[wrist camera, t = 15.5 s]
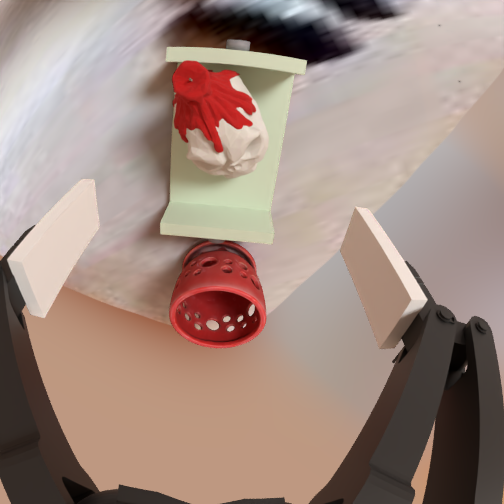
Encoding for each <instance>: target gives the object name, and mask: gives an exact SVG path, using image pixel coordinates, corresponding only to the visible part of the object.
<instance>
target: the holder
mask: <svg viewBox="0 0 504 504" xmlns="http://www.w3.org/2000/svg"><path fill="white" fill-rule="evenodd" d="M249 47H250V42H248V41H242V40H227V45H226V49H217V48H198V47H167V53H166V62H178V63H177V68H178V66H179V65H180V64H181V63H182V62H183V61H186V60H191V61H197V62H199V63H200V64H201V65H202V66H204V67H205V68H206V69H207V70H213V72H221V71H222V70H232V71H236V72H237V73H239V74H240V75H238V76H239V77H240V78H241V79H242V82H243V84H244V85H245V86H246V88H247V89H248V91H249V92H250V94H251V96H252V97H253V99H254V100H255V101H256V103H257V105H258V107H259V110H260V113H261V117H262V120H263V122H264V124H265V127H266V129H267V132H268V135H269V144H268V149H267V151H266V153H265V156H264V158H263V159H262V160H261V161H260V162H258V163H257V167H256V169H255V170H254V171H253V172H251V173H249V174H247V175H242V176H239V177H237V178H230V179H227V178H225V177H224V176H223V175H210V174H208V173H206V172H204V171H202V170H200V169H199V168H198V167H197V166H196V165H195V164H194V163H193V162H192V160H189V159H187V157H186V155H187V153H188V144H187V143H186V142H184V141H183V140H182V139H181V136H180V134H179V130H178V129H175V127H174V117H175V111H174V107H173V122H172V140H171V166H170V202H169V205H168V207H167V209H166V211H165V213H164V215H163V217H162V220H161V222H160V234H164V235H176V236H187V237H198V238H207V239H208V241H209V242H211V243H215V244H220V243H223V242H224V241H225V240H231V241H242V242H253V243H263V244H272V243H273V239H274V234H275V233H274V228H273V222H272V217H271V212H270V210H271V205H272V199H273V194H274V188H275V183H276V177H277V172H278V166H279V160H280V155H281V149H282V144H283V138H284V132H285V127H286V121H287V115H288V109H289V104H290V98H291V92H292V86H293V80H294V74H300V75H305V69H306V63H307V61H306V60H301V59H295V58H290V57H284V56H278V55H272V54H265V53H258V52H250V51H249ZM175 94H176V93H175ZM175 94H174V98H175Z"/></svg>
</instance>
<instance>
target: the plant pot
mask: <svg viewBox="0 0 504 504" xmlns="http://www.w3.org/2000/svg"><path fill="white" fill-rule="evenodd" d="M183 303H184V307H183ZM252 304H254V305H255V311H254V313H253V315H252V316H249V314H248V311H249V308H250V306H251V305H252ZM177 308H178V311H177ZM185 313H186V314H187V315H188V316H189V321H188V320H187V319H186V318H185ZM195 313H196V314H198V315H199V318H196V317H195ZM242 315H243V320H242V321H240V322H238V321H237V319H238V317H240V316H242ZM226 316H229V317H231V319H230V321H229V322H224V321H223V318H224V317H226ZM169 318H170V321H171V324H172V326H173V327H174V328H175V330H176V331H177V332H178V333H179V334H180V335H181V336H183V337H184V338H185V339H187V340H188V341H191V342H192V343H195V344H197V345H201V346H205V347H210V348H230V347H235V346H238V345H242V344H244V343H247V342H249V341H251V340H252V339H254V338H255V337H256V336H257V335H258V334H259V333H260V332H261V331H262V329H263V328H264V326H265V323H266V306H265V299H264V295H263V290H262V286H261V284H260V281H259V278H258V276H257V274H256V264H255V261H254V259H253V257H252V256H251V254H250V253H249V252H248V251H247V250H246V249H245V248H243V247H242V246H240V245H238V244H236V243H234V242H231V241H226V240H225V241H224V242H223V243H220V244H215V243H211V242H209V241H206V242H203V243H201V244H199V245H197V246H195V247H194V248H193V249H191V250H190V251H189V253H188V254H187V255H186V257H185V259H184V261H183V266H182V273H181V274H180V276H179V278H178V280H177V282H176V285H175V288H174V291H173V295H172V299H171V303H170V309H169ZM256 318H257V319H256ZM208 320H214V321H216V322H217V323H218V324H219V329H217V330H211V329H209V328H208V327H207V325H206V322H207V321H208ZM194 324H198V325H200V327H201V330H198V329H196V328H195V326H194ZM244 324H246V326H245V327H244V328H243V326H244ZM229 326H234V327H235V328H234V330H233V331H230V332H229V331H227V328H228V327H229Z"/></svg>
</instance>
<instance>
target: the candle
mask: <svg viewBox="0 0 504 504" xmlns="http://www.w3.org/2000/svg"><path fill="white" fill-rule="evenodd" d="M238 75H240V74H239V73H237V72H236V71H232V70H222V71H221V72H213V70H207V69H206V68H205V67H204V66H202V65H201V64H200V63H199V62H197V61H191V60H186V61H183V62H182V63H181V64H180V65H179V66H178V68H177V69H176V71H175V72H174V74H173V77H172V83H173V88H174V92H175V93H176V94H175V98H174V100H173V102H172V103H173V107H174V111H175V117H174V127H175V129H178V130H179V134H180V136H181V139H182V140H183V141H184V142H186V143H187V144H188V153H187V155H186V157H187V159H189V160H192V162H193V163H194V164H195V165H196V166H197V167H198V168H199V169H200V170H202V171H204V172H206V173H208V174H210V175H223V176H224V177H225V178H227V179H230V178H237V177H239V176H242V175H247V174H249V173H251V172H253V171H254V170H255V169H256V167H257V163H258V162H260V161H261V160H262V159H263V158H264V156H265V153H266V151H267V149H268V144H269V135H268V132H267V129H266V127H265V124H264V122H263V120H262V117H261V113H260V110H259V107H258V105H257V103H256V101H255V100H254V99H253V97H252V96H251V94H250V92H249V91H248V89H247V88H246V86H245V85H244V84H243V82H242V79H241V78H240V77H239V76H238Z"/></svg>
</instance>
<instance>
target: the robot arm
mask: <svg viewBox="0 0 504 504" xmlns="http://www.w3.org/2000/svg"><path fill="white" fill-rule="evenodd" d="M99 227H100V224H99V217H98V209H97V200H96V191H95V180H92V179H81V180H80V181H79V182H78V183H77V184H76V185H75V186H74V187H73V188H72V189H71V190H70V191H69V192H68V193H67V194H66V195H65V196H64V197H63V198H62V199H61V200H60V201H59V202H58V203H57V204H56V205H55V206H54V207H53V208H52V209H51V210H50V211H49V212H48V213H47V214H46V215H45V216H44V217H43V218H42V219H41V220H40V221H39V223H38V224H37V225H34V226H32V227H31V228H29V229H28V230H27V231H25V232H24V233H23V235H22V236H21V237H20V238H19V240H17V241H16V243H15V244H14V246H12V247H11V248H10V250H9V251H8V252H7V253H6V255H5V256H4V257H3V258H2V260H1V261H0V479H1V481H2V484H3V486H4V489H5V491H6V493H7V495H8V498H9V500H10V502H11V504H190V503H187V502H184V501H181V500H178V499H175V498H172V497H169V496H167V495H164V494H161V493H159V492H154V491H148V490H143V489H138V488H133V487H128V486H123V485H119V488H118V489H114V490H106V491H102V492H99V490H98V488H97V487H96V485H95V484H94V483H93V481H92V479H91V478H90V477H89V475H88V474H87V473H86V472H85V471H84V469H83V468H82V467H81V466H80V464H79V462H78V461H77V459H76V457H75V455H74V453H73V451H72V449H71V448H70V445H69V443H68V441H67V439H66V437H65V435H64V433H63V431H62V429H61V426H60V424H59V422H58V419H57V417H56V415H55V412H54V410H53V408H52V405H51V403H50V400H49V397H48V395H47V392H46V389H45V387H44V384H43V381H42V378H41V375H40V372H39V369H38V366H37V362H36V359H35V356H34V352H33V349H32V345H31V342H30V338H29V334H28V330H27V326H26V322H25V317H24V315H23V313H22V309H23V308H24V306H25V304H26V306H27V308H28V310H29V313H30V314H31V315H34V316H37V317H42V318H45V317H46V315H47V313H48V311H49V309H50V307H51V305H52V304H53V302H54V300H55V298H56V296H57V295H58V293H59V291H60V289H61V288H62V286H63V284H64V282H65V281H66V279H67V277H68V276H69V274H70V272H71V271H72V269H73V267H74V266H75V264H76V262H77V261H78V259H79V258H80V256H81V254H82V253H83V251H84V250H85V248H86V247H87V245H88V244H89V242H90V241H91V239H92V238H93V236H94V235H95V233H96V232H97V230H98V229H99ZM340 252H341V254H342V256H343V259H344V261H345V263H346V266H347V268H348V270H349V273H350V275H351V277H352V280H353V282H354V285H355V287H356V290H357V292H358V294H359V297H360V299H361V302H362V304H363V307H364V309H365V312H366V315H367V317H368V320H369V322H370V325H371V328H372V330H373V333H374V336H375V338H376V341H377V344H378V347H379V349H386V348H395V347H396V345H397V344H398V342H399V341H400V340H401V339H402V340H403V343H404V345H405V346H404V347H403V348H402V350H401V351H400V352H399V354H398V355H397V356H396V357H395V359H394V360H393V361H392V362H393V363H395V361H396V363H395V365H394V367H393V370H392V372H391V374H390V376H389V378H388V380H387V383H386V385H385V387H384V389H383V391H382V393H381V395H380V397H379V399H378V401H377V403H376V405H375V407H374V409H373V411H372V412H371V415H370V416H369V418H368V420H367V422H366V424H365V425H364V427H363V429H362V431H361V432H360V434H359V436H358V438H357V439H356V441H355V443H354V444H353V446H352V448H351V450H350V451H349V453H348V454H347V456H346V457H345V459H344V460H343V462H342V464H341V465H340V467H339V468H338V470H337V471H336V473H335V474H334V476H333V477H332V478H331V480H330V481H329V482H328V484H327V485H326V486H325V487H324V488H323V489H322V490H321V491H320V492H319V493H318V494H317V495H316V496H315V497H314V498H313V499H312V500H311V501H310V503H309V504H412V502H413V499H414V496H415V490H414V489H413V488H412V487H411V481H412V478H413V476H414V474H415V472H416V469H417V467H418V464H419V462H420V460H421V457H422V454H423V452H424V450H425V447H426V444H427V442H428V439H429V436H430V433H431V430H432V427H433V424H434V421H435V430H434V440H433V448H432V455H431V462H430V469H429V474H428V480H427V485H426V490H425V495H424V499H423V503H422V504H502V497H503V488H504V406H503V395H502V387H501V379H500V372H499V366H498V360H497V354H496V349H495V344H494V339H493V335H492V331H491V328H490V327H489V325H488V323H487V322H486V321H485V320H483V319H482V318H480V317H477V316H474V317H472V318H471V319H470V321H469V322H468V323H467V324H464V323H461V322H458V321H457V320H456V318H455V316H454V314H453V313H452V312H451V311H450V310H449V309H447V308H446V307H444V306H442V305H436V303H435V301H434V299H433V298H432V296H431V294H430V293H429V291H428V289H427V288H426V286H425V285H424V283H423V281H422V280H421V279H420V276H419V275H418V273H417V272H416V270H415V269H414V268H413V267H412V266H411V265H410V264H409V263H408V262H407V261H404V260H403V259H402V257H401V256H400V254H399V253H398V251H397V249H396V248H395V247H394V245H393V243H392V242H391V240H390V239H389V238H388V236H387V235H386V233H385V232H384V230H383V229H382V227H381V226H380V224H379V223H378V222H377V220H376V219H375V217H374V216H373V215H372V213H371V212H370V210H369V209H366V208H360V207H355V209H354V212H353V215H352V218H351V221H350V224H349V227H348V230H347V233H346V235H345V238H344V241H343V244H342V246H341V249H340ZM466 365H468V366H467V370H466V372H465V367H466ZM435 418H436V419H435ZM222 504H291V503H286V502H285V499H284V498H267V499H242V500H237V501H232V502H227V503H222Z"/></svg>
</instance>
